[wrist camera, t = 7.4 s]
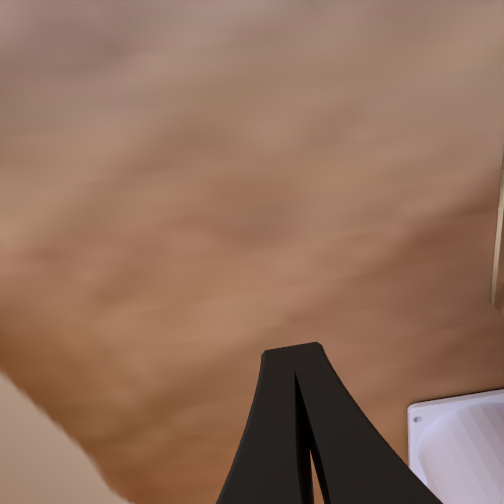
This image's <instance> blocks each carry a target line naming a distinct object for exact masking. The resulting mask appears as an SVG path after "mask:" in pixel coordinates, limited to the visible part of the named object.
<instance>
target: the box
mask: <svg viewBox="0 0 504 504" xmlns="http://www.w3.org/2000/svg"><path fill="white" fill-rule="evenodd" d="M490 302H491V303H492V304H493V305H494V306H495V307H496V308H497V309H498V310H499V312H500V313H501V314H502V315H503V316H504V155H503V166H502V177H501V188H500V199H499V209H498V220H497V231H496V242H495V253H494V264H493V275H492V286H491V296H490Z"/></svg>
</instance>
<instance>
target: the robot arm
mask: <svg viewBox="0 0 504 504" xmlns="http://www.w3.org/2000/svg"><path fill="white" fill-rule="evenodd" d="M407 413H408V451H409V467H408V466H407V465H406V464H405V463H404V462H403V460H402V459H401V458H400V457H399V456H398V455H397V454H396V452H395V451H394V450H393V449H392V448H391V447H390V445H389V444H388V443H387V442H386V441H385V439H384V438H383V437H382V436H381V434H380V433H379V432H378V431H377V430H376V428H375V427H374V426H373V425H372V423H371V422H370V421H369V419H368V418H367V417H366V416H365V414H364V413H363V411H362V410H361V409H360V407H359V406H358V405H357V403H356V402H355V400H354V399H353V398H352V396H351V395H350V394H349V392H348V391H347V389H346V388H345V386H344V385H343V383H342V382H341V380H340V378H339V377H338V375H337V374H336V372H335V370H334V369H333V367H332V365H331V363H330V362H329V360H328V358H327V356H326V354H325V352H324V349H323V347H322V345H321V344H319V343H318V342H312V343H306V344H300V345H294V346H288V347H282V348H276V349H270V350H265V351H264V353H263V354H262V356H261V366H260V372H259V378H258V382H257V387H256V391H255V395H254V399H253V403H252V406H251V410H250V413H249V416H248V420H247V423H246V427H245V430H244V433H243V436H242V438H241V441H240V444H239V447H238V450H237V452H236V455H235V458H234V461H233V463H232V466H231V469H230V471H229V474H228V476H227V479H226V481H225V484H224V486H223V488H222V491H221V493H220V495H219V497H218V500H217V502H216V504H314V494H313V482H312V470H311V458H310V451H311V455H312V459H313V462H314V466H315V470H316V474H317V477H318V481H319V485H320V489H321V492H322V496H323V500H324V504H504V389H502V390H495V391H489V392H483V393H476V394H470V395H464V396H458V397H451V398H445V399H439V400H433V401H426V402H420V403H415V404H412V405H410V406H409V408H408V410H407Z"/></svg>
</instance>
